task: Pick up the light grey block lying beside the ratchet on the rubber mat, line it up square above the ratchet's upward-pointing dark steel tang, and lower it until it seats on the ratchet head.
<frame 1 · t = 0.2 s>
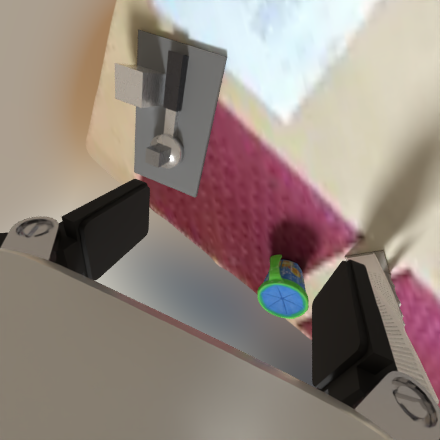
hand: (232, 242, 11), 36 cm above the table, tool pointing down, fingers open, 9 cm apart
skyscraper: (362, 264, 49), on the table
tool mat: (172, 125, 47), on the table
light grey block: (152, 86, 44), point 1 cm above the table, touching tool mat
ratchet: (170, 149, 49), point 1 cm above the table, touching tool mat
snack cup: (286, 269, 56), on the table
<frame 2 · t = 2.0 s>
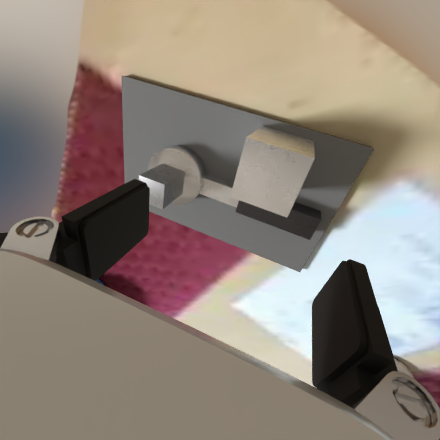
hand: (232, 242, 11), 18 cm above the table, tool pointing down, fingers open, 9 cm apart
tool mat: (220, 179, 29), on the table
light grey block: (278, 158, 24), point 1 cm above the table, touching tool mat
ratchet: (182, 172, 29), point 1 cm above the table, touching tool mat
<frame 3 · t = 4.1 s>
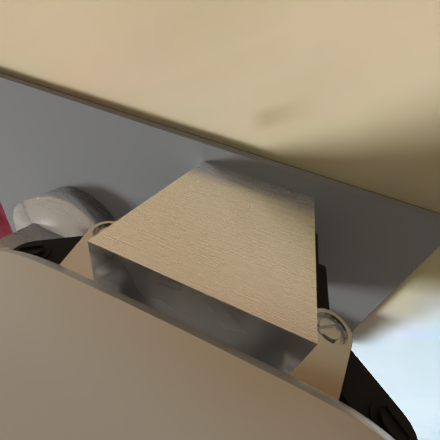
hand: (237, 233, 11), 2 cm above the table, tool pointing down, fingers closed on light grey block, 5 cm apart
tool mat: (150, 243, 16), on the table
light grey block: (241, 224, 12), point 1 cm above the table, touching gripper, tool mat
ratchet: (86, 230, 17), point 1 cm above the table, touching tool mat
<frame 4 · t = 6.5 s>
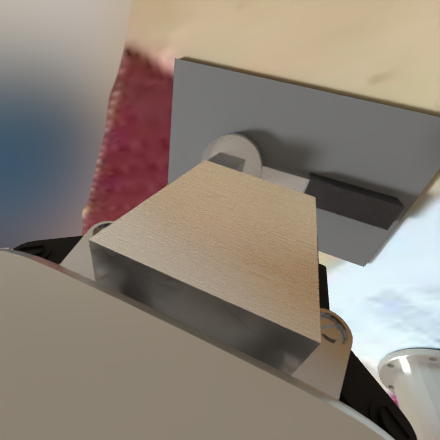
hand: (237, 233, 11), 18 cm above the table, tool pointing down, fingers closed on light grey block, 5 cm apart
tool mat: (278, 168, 27), on the table
light grey block: (242, 223, 12), point 17 cm above the table, touching gripper
ratchet: (235, 162, 27), point 1 cm above the table, touching tool mat
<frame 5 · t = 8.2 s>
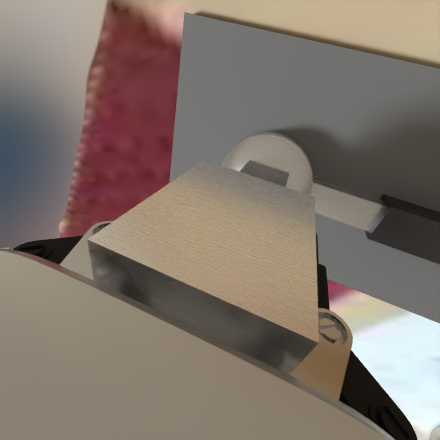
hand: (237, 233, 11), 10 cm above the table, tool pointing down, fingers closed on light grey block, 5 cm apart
tool mat: (329, 185, 18), on the table
light grey block: (241, 223, 12), point 9 cm above the table, touching gripper
ratchet: (267, 174, 19), point 1 cm above the table, touching tool mat
when the fingers open (6 cm above the table, at t = 9.4 s): light grey block drops 2 cm, resting on ratchet.
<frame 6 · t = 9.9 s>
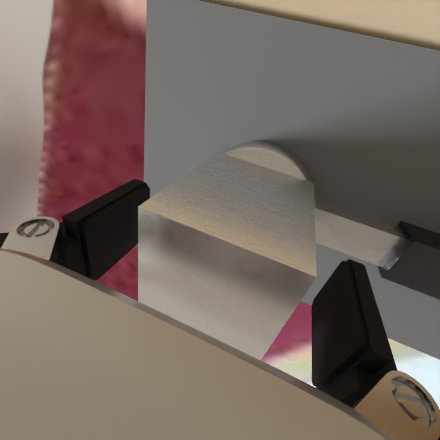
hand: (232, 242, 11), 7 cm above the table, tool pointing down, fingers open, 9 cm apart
tool mat: (332, 207, 15), on the table
light grey block: (249, 208, 13), point 3 cm above the table, touching ratchet
ratchet: (257, 193, 15), point 1 cm above the table, touching light grey block, tool mat
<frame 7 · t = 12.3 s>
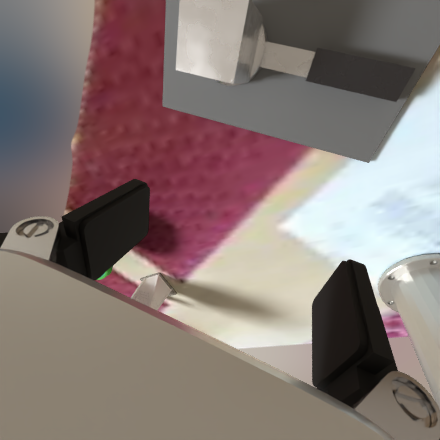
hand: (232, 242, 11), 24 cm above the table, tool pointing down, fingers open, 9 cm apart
skyscraper: (158, 282, 55), on the table
tool mat: (281, 53, 25), on the table
light grey block: (231, 47, 24), point 3 cm above the table, touching ratchet
ratchet: (236, 49, 25), point 1 cm above the table, touching light grey block, tool mat
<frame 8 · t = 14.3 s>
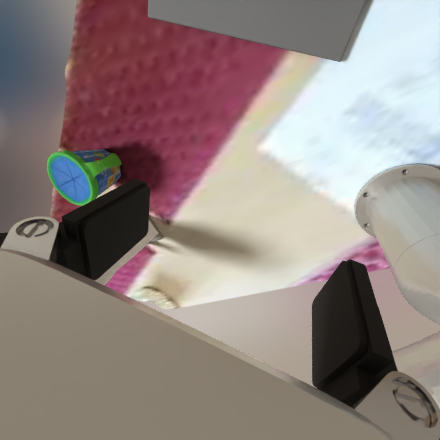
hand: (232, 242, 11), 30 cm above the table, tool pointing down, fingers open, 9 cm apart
skyscraper: (146, 226, 56), on the table
snack cup: (109, 165, 51), on the table
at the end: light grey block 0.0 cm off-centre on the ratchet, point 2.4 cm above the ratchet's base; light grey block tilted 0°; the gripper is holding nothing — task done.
